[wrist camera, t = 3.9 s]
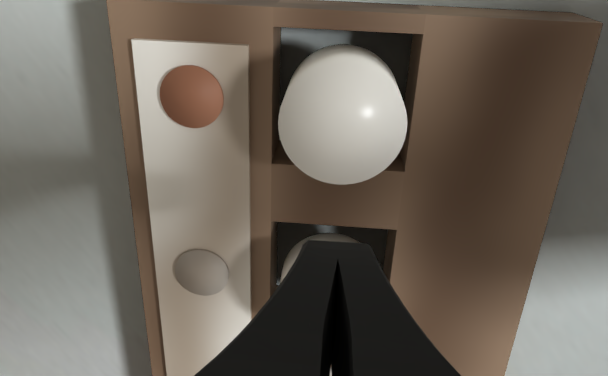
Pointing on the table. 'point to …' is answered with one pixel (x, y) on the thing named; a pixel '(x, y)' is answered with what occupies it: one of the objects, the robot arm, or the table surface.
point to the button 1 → (342, 115)
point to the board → (352, 197)
